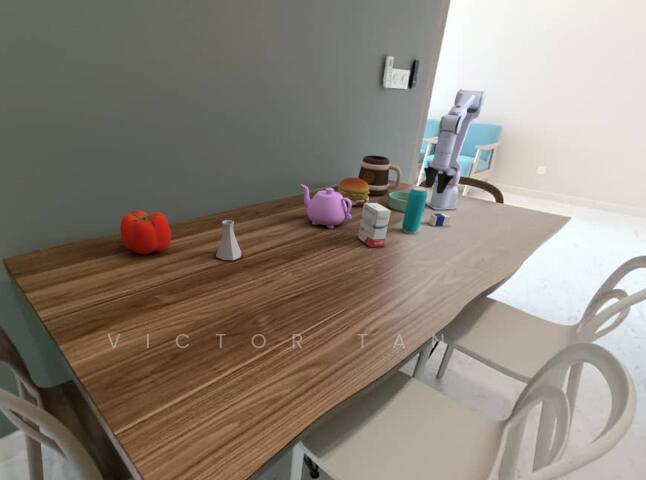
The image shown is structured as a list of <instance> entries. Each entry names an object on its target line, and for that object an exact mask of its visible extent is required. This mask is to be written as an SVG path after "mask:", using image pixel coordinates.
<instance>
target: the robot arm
mask: <svg viewBox="0 0 646 480" xmlns="http://www.w3.org/2000/svg"><path fill="white" fill-rule="evenodd" d="M486 96H487V93H486V91H485V90H481V91H480V90H468V89H462V88H461V89H459V90H458V91H457V92H456V95H455V98H454V105H453V106H452V107H451V108H450V110H449V111H448V113H447V114H444V115H442V116H441V118H440V121H439V124H438V133H437V142H436V147H435V150H434V155H433V160H427V161H426V167H424V168H423V171H424V174H425V175H424V176H425V188H426V189H432V188H433V189H432V194H431V198H430V202H425V206H428V207H430V208H432V209H433V210H435V211H436V210H438V211H439V210H440V211H443V210H456V203H457V200H458V196H459V189H458V184H459V182H460V179H461V176H462V171H463V167H462V165H461V164H460V163H459V161H458V160H459V158H460V155H461V152H462V149H463V147H464V143H465V141H466V137H467V135H468V132H469V128H470V126H471V124H472V123H473V120H475V119H478V118H479V116H480V114H481V113H482V110H483V107H484V103H485V101H486Z"/></svg>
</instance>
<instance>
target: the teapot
mask: <svg viewBox="0 0 646 480" xmlns="http://www.w3.org/2000/svg"><path fill="white" fill-rule="evenodd" d="M300 186H301V187H302V189H303V192H304V194H303V195H304V198H303V205H304V206H305V208H306V215H307V217H308V219H309V220H310V221H311V224H312V225H322V226H326V227H327V228H328V229H334V228H335V227H334V226H338V225H341V224H342V223H343V222H345V221H351V220H352V218H353V216H352V214H351V213H350V211H351V209H352V207H353V205H352V203H351V201H350V199H348V198H343V197H342V195H341V194H340V193H338V191H335V189H334V188H332V187H325V190H319V191H317V192H316V193H315V195H314V196H313V197H312V199H311V197H310V190H309V187H308V186H307V185H305V184H303V183H301V184H300ZM344 200H345V201H347V202H348V206H347V205H346V203H345V201H344Z"/></svg>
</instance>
